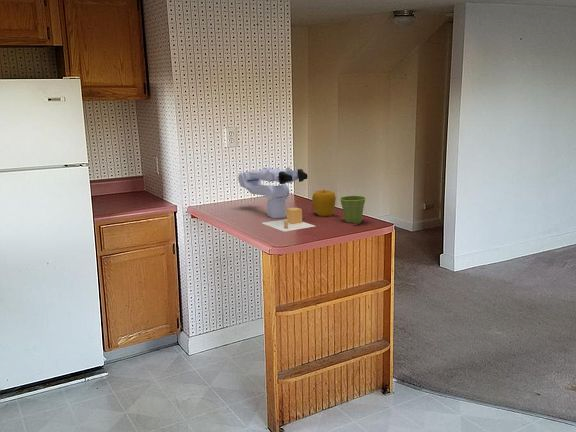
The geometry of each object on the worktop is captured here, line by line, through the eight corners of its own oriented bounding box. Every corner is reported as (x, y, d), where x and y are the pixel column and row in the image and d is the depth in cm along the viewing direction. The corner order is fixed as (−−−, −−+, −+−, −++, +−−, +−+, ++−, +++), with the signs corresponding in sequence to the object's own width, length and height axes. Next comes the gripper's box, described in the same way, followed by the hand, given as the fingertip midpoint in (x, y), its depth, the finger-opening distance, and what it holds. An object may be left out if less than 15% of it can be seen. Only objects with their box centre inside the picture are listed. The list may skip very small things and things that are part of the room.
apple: (307, 217, 270) (307, 190, 267) (323, 213, 277) (322, 186, 275) (325, 220, 262) (325, 192, 260) (340, 216, 270) (340, 189, 267)
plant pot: (348, 218, 264) (348, 194, 262) (371, 221, 257) (371, 197, 255) (334, 223, 256) (334, 198, 253) (356, 227, 248) (356, 201, 246)
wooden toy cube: (286, 222, 257) (286, 208, 255) (296, 220, 259) (295, 207, 258) (292, 224, 252) (292, 210, 251) (302, 222, 255) (301, 209, 254)
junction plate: (261, 225, 256) (260, 215, 255) (291, 220, 264) (291, 210, 263) (284, 233, 240) (283, 223, 239) (316, 228, 248) (315, 218, 247)
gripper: (268, 168, 255) (284, 169, 244) (296, 165, 263) (312, 166, 251) (269, 184, 257) (285, 186, 245) (297, 180, 264) (313, 182, 252)
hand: (299, 177), depth 248 cm, fingers open, 7 cm apart
